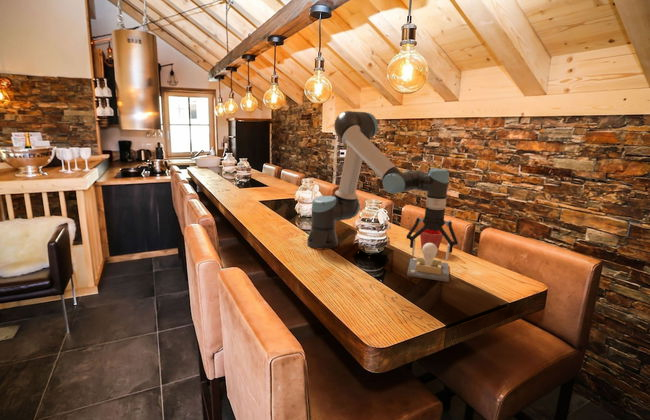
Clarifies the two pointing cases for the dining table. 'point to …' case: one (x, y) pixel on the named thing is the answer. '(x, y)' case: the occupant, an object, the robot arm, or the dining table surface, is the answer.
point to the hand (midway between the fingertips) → (429, 257)
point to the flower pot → (431, 237)
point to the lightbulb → (429, 253)
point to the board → (428, 269)
